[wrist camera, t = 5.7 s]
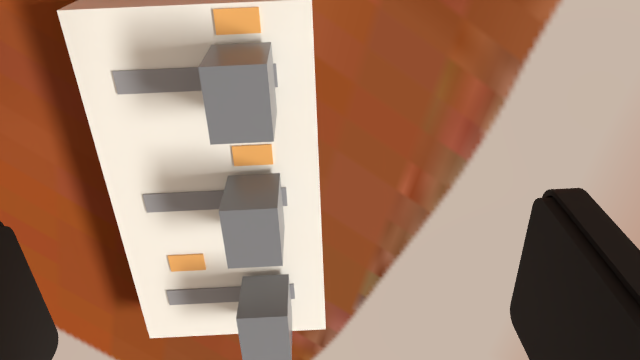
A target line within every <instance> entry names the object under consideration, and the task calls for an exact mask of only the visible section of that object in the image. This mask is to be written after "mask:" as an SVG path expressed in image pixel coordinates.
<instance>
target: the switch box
mask: <svg viewBox="0 0 640 360" xmlns="http://www.w3.org/2000/svg"><path fill="white" fill-rule="evenodd" d="M57 13H58V17H59V20H60V24H61V27H62V31H63V34H64V38H65V41H66V45H67V49H68V52H69V56H70V59H71V63H72V66H73V70H74V73H75V77H76V80H77V84H78V87H79V91H80V94H81V98H82V101H83V105H84V108H85V112H86V115H87V119H88V122H89V126H90V129H91V133H92V136H93V140H94V143H95V147H96V150H97V154H98V157H99V161H100V164H101V168H102V171H103V175H104V178H105V182H106V185H107V189H108V192H109V196H110V199H111V203H112V206H113V210H114V214H115V217H116V221H117V224H118V228H119V231H120V235H121V238H122V242H123V245H124V249H125V252H126V256H127V259H128V263H129V266H130V270H131V273H132V277H133V280H134V284H135V287H136V291H137V294H138V298H139V301H140V305H141V308H142V312H143V315H144V319H145V322H146V326H147V329H148V333H149V336H150V338H162V337H182V336H201V335H221V334H238V328H237V322H236V316H237V309H238V303H239V296H240V290H241V283H242V276H261V275H281V274H289V283H290V294H291V306H292V331H299V330H318V329H326V324H325V300H324V277H323V253H322V230H321V206H320V183H319V159H318V135H317V112H316V88H315V65H314V41H313V18H312V0H77V1H75V2H73V3H71V4H69V5H67V6H65V7H63V8H61V9H59V10H57ZM259 42H271V45H272V57H273V69H274V81H275V93H276V105H277V117H276V127H275V136H274V142H256V143H235V144H214V145H210V139H209V132H208V126H207V120H206V113H205V107H204V101H203V95H202V88H201V82H200V76H199V69H198V66H199V65H200V63H201V61H202V60H203V58H204V56H205V55H206V53H207V51H208V49H209V48H210V46H211V45H215V44H237V43H259ZM268 173H280V178H281V190H282V201H283V213H284V225H285V230H284V251H283V266H270V267H250V268H230V269H228V266H227V260H226V254H225V247H224V241H223V235H222V229H221V223H220V217H219V208H220V204H221V200H222V196H223V192H224V188H225V184H226V181H227V177H228V175H247V174H268Z"/></svg>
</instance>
